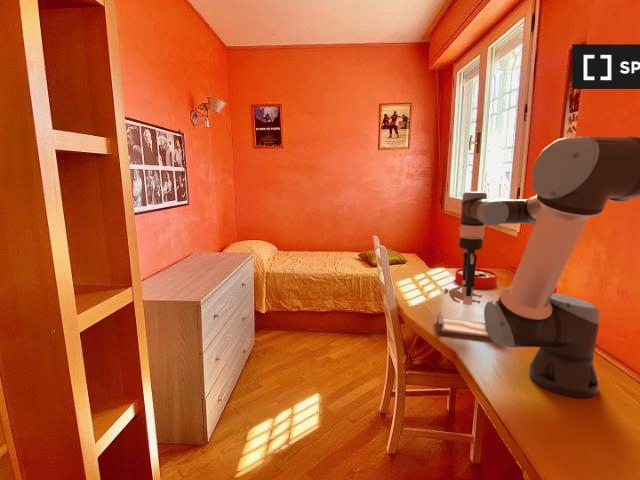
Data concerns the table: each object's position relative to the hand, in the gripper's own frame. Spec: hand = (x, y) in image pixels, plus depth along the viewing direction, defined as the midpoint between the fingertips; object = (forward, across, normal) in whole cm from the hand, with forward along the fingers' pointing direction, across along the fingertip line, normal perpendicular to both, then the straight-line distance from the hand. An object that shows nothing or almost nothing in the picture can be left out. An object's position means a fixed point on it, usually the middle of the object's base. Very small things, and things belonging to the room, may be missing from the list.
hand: (466, 301), depth 121 cm
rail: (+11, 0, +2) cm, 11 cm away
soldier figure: (0, -1, -1) cm, 1 cm away
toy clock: (+12, -65, +12) cm, 67 cm away
